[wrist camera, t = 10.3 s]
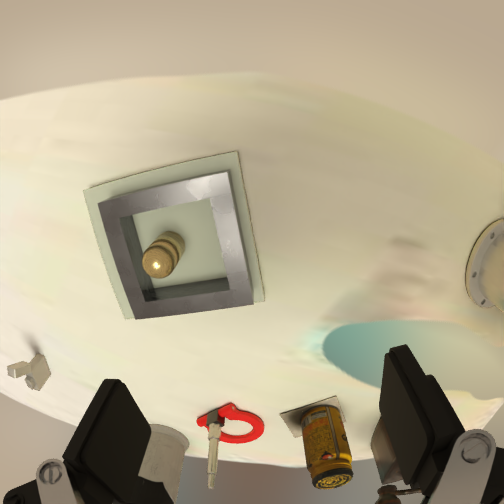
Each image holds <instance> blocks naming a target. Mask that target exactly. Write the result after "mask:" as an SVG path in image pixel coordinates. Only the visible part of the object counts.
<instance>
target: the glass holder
mask: <svg viewBox="0 0 504 504" xmlns="http://www.w3.org/2000/svg"><path fill="white" fill-rule="evenodd" d="M149 425H150V427H151V437H150V440H149V443H148V446H147V449H146V452H145V455H144V458H143V462H142V465H141V468H140V471H139V474H138V477H137V481H136V484H135V487H134V490H133V494H132V497H131V500H130V501H128V502H127V503H126V504H176V499H177V493H178V487H179V482H180V476H181V471H182V465H183V459H184V454H185V451H186V450H187V449H188V447H189V441H188V439H187V438H186V437H185V436H184V435H183V434H182V433H180V432H179V431H177V430H175V429H173V428H170V427H167V426H163V425H158V424H149Z"/></svg>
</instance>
